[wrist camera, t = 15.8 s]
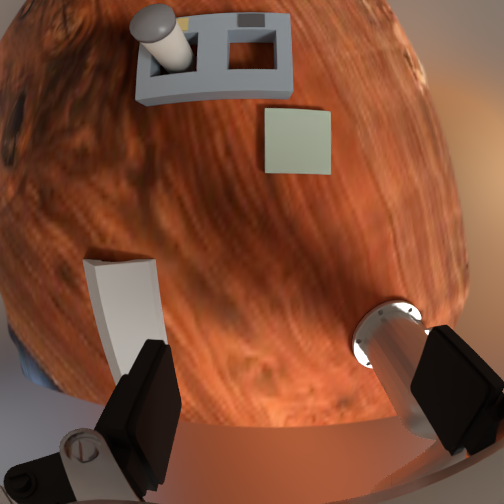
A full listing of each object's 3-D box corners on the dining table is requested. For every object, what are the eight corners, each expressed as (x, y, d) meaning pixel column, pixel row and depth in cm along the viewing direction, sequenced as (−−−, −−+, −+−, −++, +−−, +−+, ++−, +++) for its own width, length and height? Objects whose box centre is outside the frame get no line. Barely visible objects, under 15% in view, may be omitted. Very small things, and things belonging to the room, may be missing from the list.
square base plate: (327, 113, 32) (330, 111, 31) (328, 174, 35) (330, 174, 33) (264, 109, 32) (264, 107, 31) (264, 172, 34) (265, 173, 33)
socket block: (285, 27, 29) (290, 12, 25) (288, 99, 32) (293, 90, 28) (151, 35, 29) (141, 23, 24) (146, 106, 32) (134, 99, 28)
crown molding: (182, 407, 46) (179, 421, 43) (123, 400, 46) (117, 412, 43) (155, 256, 38) (147, 265, 35) (83, 257, 38) (71, 265, 35)
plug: (198, 49, 30) (175, 0, 17) (197, 76, 31) (171, 35, 18) (167, 52, 30) (132, 8, 17) (165, 80, 31) (126, 43, 18)
